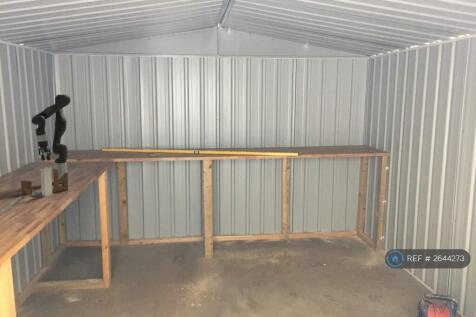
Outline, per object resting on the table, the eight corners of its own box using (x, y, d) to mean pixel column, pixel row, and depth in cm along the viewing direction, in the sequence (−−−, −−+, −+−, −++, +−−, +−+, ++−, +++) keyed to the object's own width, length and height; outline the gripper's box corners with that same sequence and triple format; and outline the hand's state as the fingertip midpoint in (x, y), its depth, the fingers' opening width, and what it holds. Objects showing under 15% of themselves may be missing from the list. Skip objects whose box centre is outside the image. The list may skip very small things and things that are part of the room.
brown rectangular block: (25, 192, 323) (24, 180, 321) (32, 193, 322) (31, 180, 320) (21, 193, 319) (20, 181, 318) (28, 194, 318) (27, 181, 316)
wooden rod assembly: (68, 190, 335) (67, 168, 332) (55, 192, 327) (54, 169, 324) (66, 189, 338) (65, 167, 335) (52, 191, 329) (52, 169, 327)
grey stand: (39, 192, 324) (37, 165, 321) (54, 193, 322) (53, 166, 318) (29, 195, 314) (27, 168, 310) (44, 197, 311) (43, 169, 308)
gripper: (51, 139, 334) (55, 159, 337) (42, 140, 343) (46, 159, 345) (42, 141, 328) (46, 161, 331) (33, 141, 337) (37, 161, 339)
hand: (46, 160), depth 338 cm, fingers open, 8 cm apart
